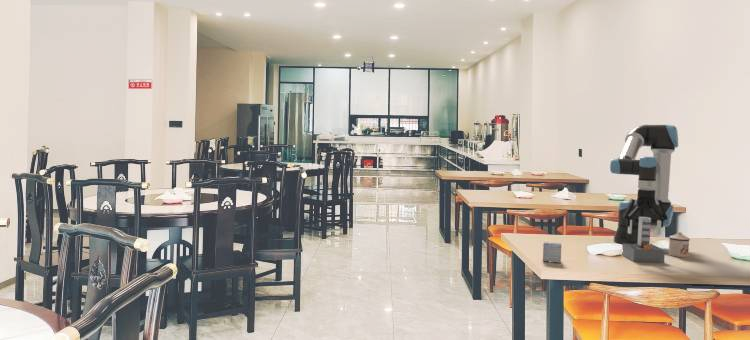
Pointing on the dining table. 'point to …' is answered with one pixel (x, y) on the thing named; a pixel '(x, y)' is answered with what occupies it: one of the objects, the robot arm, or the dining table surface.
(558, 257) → the medicine box
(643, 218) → the column
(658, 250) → the sleeve base
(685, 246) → the teacup with lid
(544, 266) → the dining table surface
